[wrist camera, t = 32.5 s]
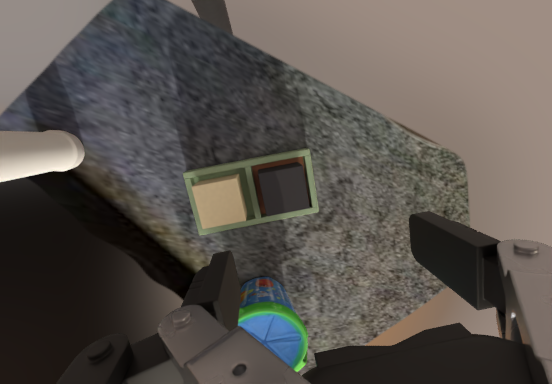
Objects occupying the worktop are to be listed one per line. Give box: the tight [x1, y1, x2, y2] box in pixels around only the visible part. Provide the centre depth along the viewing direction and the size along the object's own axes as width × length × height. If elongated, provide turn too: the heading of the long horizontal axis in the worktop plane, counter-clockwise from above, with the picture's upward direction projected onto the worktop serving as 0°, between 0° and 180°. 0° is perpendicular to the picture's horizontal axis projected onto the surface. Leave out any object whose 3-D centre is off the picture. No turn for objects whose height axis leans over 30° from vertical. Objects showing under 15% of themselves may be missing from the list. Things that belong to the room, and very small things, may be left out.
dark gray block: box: [258, 162, 310, 217], centre depth 35 cm, size 6×6×4 cm
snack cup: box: [238, 276, 308, 372], centre depth 36 cm, size 16×10×10 cm
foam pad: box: [192, 173, 247, 229], centre depth 35 cm, size 6×6×4 cm
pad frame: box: [183, 148, 319, 235], centre depth 36 cm, size 9×17×2 cm, turn 100°
